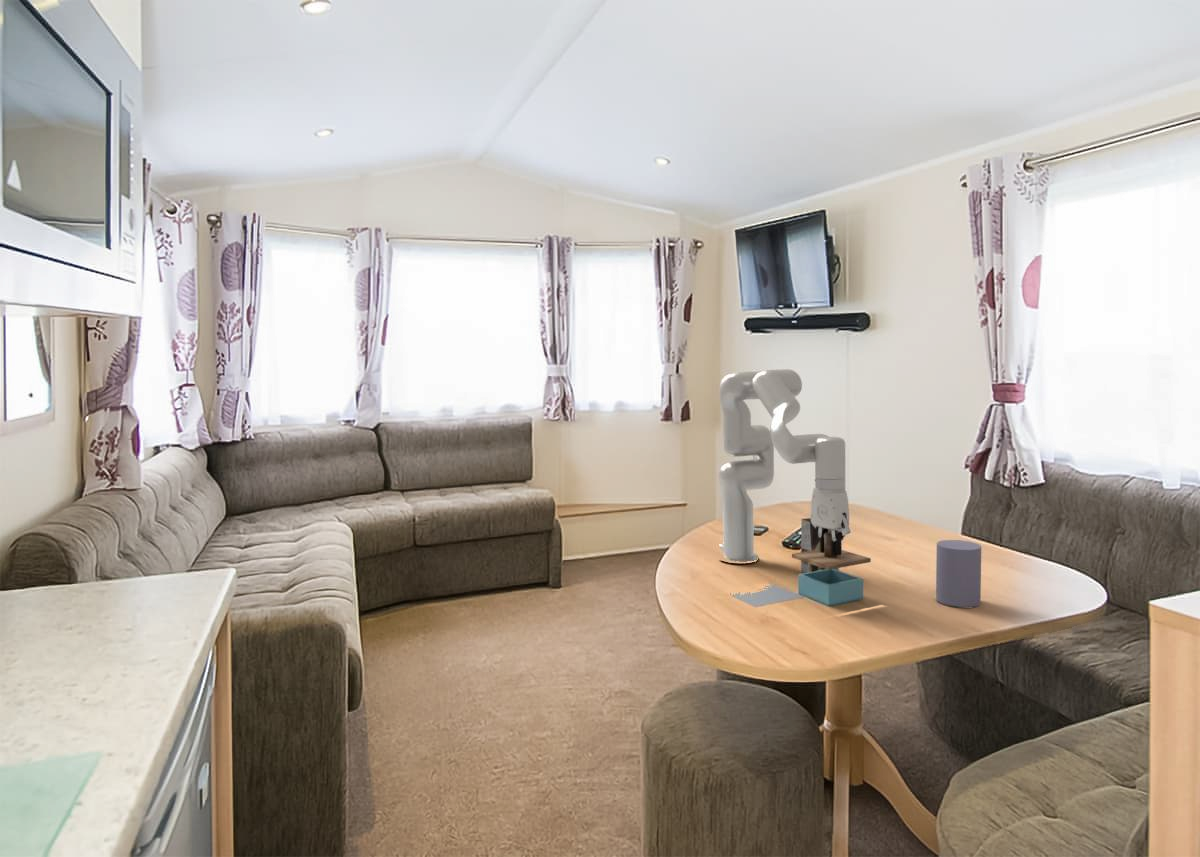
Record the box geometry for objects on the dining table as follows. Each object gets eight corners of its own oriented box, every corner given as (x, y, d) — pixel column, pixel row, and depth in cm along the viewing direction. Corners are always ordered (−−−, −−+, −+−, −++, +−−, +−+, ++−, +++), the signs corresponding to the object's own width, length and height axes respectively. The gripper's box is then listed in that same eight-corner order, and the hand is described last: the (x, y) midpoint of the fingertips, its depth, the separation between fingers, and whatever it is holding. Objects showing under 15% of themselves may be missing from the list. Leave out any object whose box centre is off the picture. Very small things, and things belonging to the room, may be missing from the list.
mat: (719, 592, 207) (719, 590, 207) (767, 583, 214) (767, 581, 214) (755, 609, 193) (755, 606, 193) (804, 599, 200) (804, 596, 199)
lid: (791, 557, 202) (791, 531, 201) (832, 550, 207) (832, 525, 207) (828, 569, 189) (828, 542, 188) (870, 562, 195) (870, 535, 194)
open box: (798, 596, 202) (798, 574, 202) (832, 589, 207) (832, 568, 206) (828, 608, 192) (828, 585, 191) (863, 601, 196) (863, 578, 196)
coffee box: (812, 577, 219) (811, 522, 217) (800, 571, 225) (800, 518, 224) (839, 574, 221) (839, 519, 220) (827, 568, 228) (827, 515, 226)
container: (937, 593, 201) (938, 538, 200) (980, 598, 196) (981, 541, 195) (934, 605, 192) (935, 547, 190) (980, 610, 187) (981, 551, 186)
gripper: (798, 481, 202) (798, 549, 204) (841, 490, 187) (842, 562, 189) (820, 479, 206) (820, 545, 207) (864, 487, 191) (864, 558, 192)
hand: (830, 553), depth 198 cm, fingers closed on lid, 3 cm apart
